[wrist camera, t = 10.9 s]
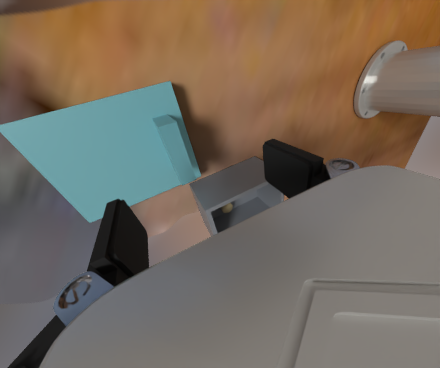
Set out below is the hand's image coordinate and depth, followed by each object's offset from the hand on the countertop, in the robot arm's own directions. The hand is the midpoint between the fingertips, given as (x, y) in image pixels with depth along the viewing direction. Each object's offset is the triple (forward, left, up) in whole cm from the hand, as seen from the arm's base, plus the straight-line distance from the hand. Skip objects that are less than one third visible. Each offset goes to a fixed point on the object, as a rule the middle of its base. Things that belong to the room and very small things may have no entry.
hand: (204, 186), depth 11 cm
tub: (-6, +12, -13) cm, 19 cm away
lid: (+5, 0, -13) cm, 14 cm away
